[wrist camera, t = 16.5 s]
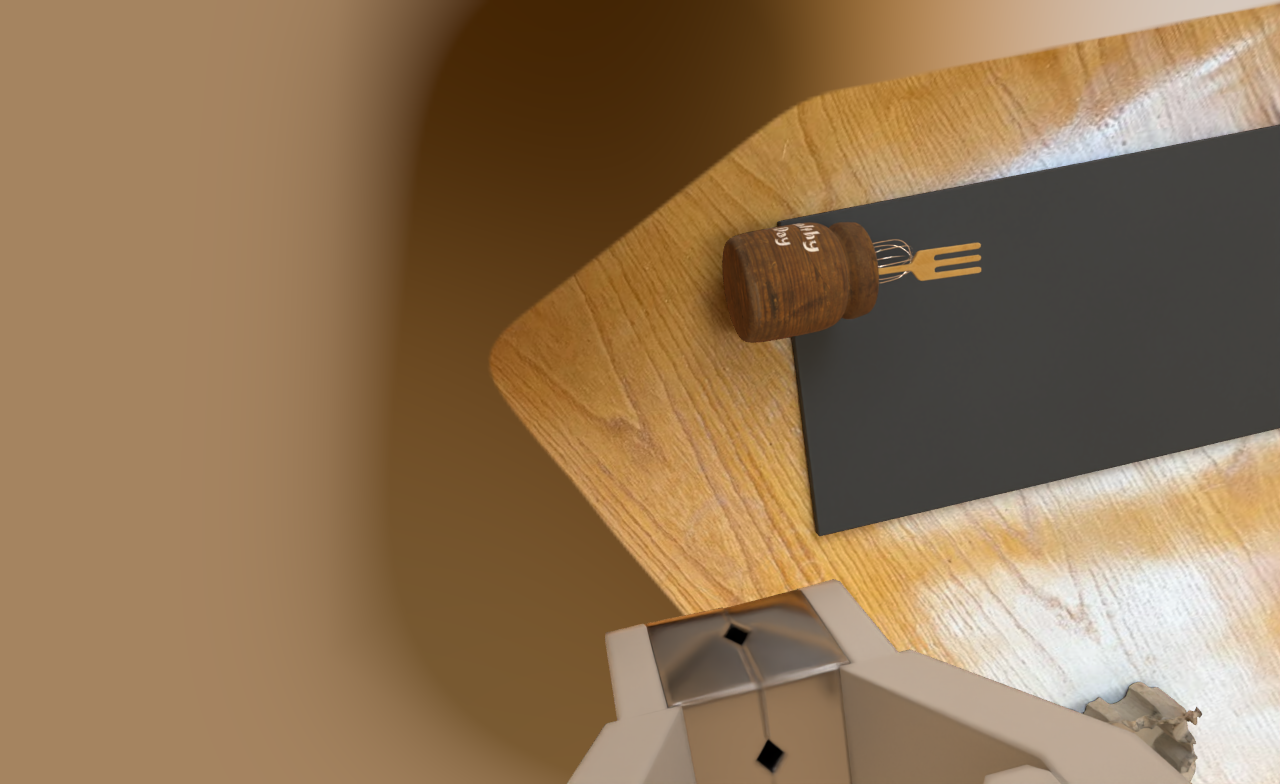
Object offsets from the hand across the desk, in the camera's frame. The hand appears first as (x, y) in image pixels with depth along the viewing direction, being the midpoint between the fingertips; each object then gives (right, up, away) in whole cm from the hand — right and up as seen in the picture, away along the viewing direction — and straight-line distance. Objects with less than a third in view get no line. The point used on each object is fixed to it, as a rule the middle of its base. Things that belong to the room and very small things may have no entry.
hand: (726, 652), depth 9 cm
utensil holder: (+4, +9, +29) cm, 30 cm away
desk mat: (+26, +7, +36) cm, 45 cm away
